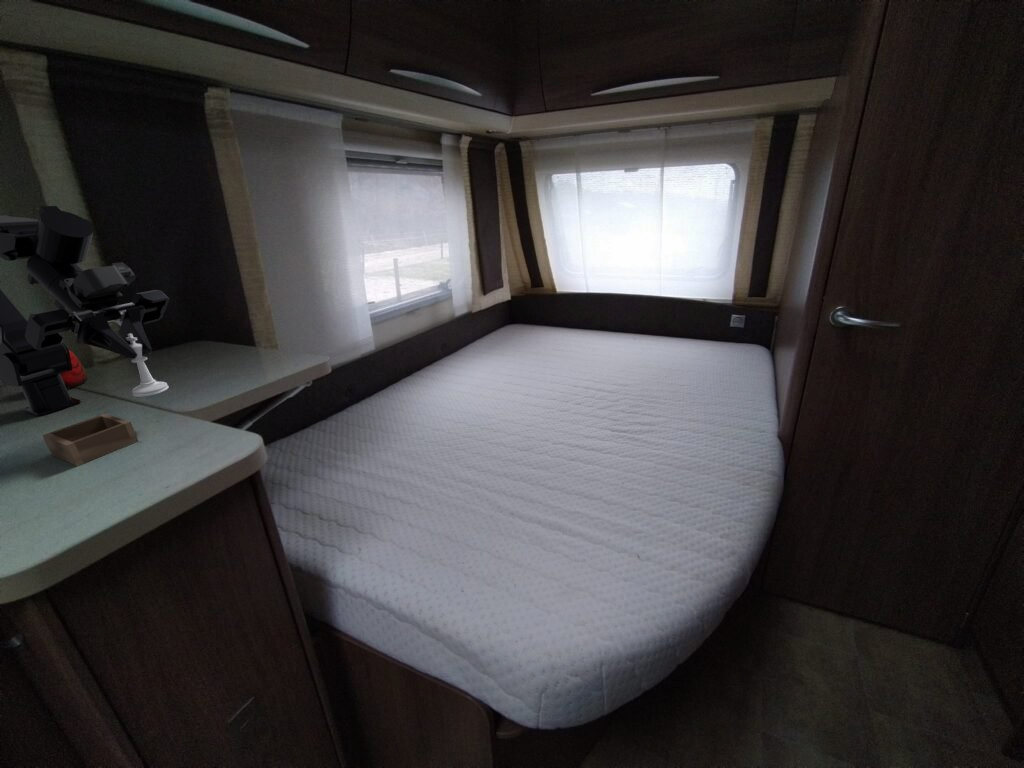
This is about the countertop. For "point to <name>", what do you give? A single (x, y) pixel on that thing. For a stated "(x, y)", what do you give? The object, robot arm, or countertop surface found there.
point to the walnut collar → (90, 439)
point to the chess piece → (144, 373)
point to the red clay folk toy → (74, 373)
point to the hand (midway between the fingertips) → (143, 354)
